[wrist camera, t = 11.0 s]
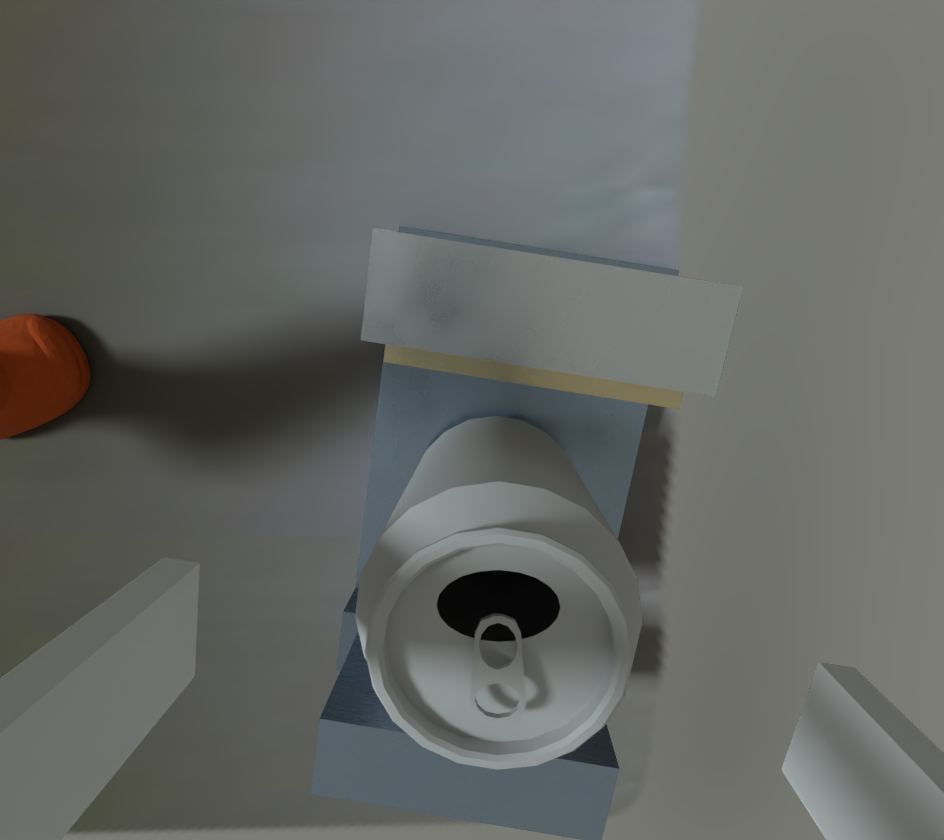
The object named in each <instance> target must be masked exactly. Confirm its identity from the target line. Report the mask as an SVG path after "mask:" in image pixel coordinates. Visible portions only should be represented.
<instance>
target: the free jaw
mask: <svg viewBox="0 0 944 840" xmlns="http://www.w3.org/2000/svg"><path fill="white" fill-rule="evenodd" d="M742 291H743V286H737V285H730V284H724V283H718V282H711V281H705V280H699V279H692V278H686V277H680V276H673V275H667V274H661V273H654V272H648V271H642V270H635V269H629V268H623V267H616V266H610V265H604V264H597V263H591V262H584V261H578V260H572V259H565V258H559V257H553V256H546V255H540V254H534V253H527V252H521V251H515V250H508V249H502V248H496V247H489V246H483V245H477V244H470V243H464V242H457V241H451V240H445V239H438V238H432V237H426V236H419V235H413V234H407V233H400V232H394V231H388V230H381V229H375V228H373V234H372V243H371V252H370V261H369V270H368V279H367V287H366V296H365V305H364V314H363V323H362V332H361V340H362V341H369V342H375V343H381V344H385V352H384V361H383V362H387V363H393V364H399V365H405V366H412V367H418V368H424V369H430V370H436V371H443V372H449V373H455V374H461V375H468V376H474V377H480V378H486V379H493V380H499V381H505V382H511V383H518V384H524V385H530V386H536V387H543V388H549V389H555V390H561V391H568V392H574V393H580V394H586V395H593V396H599V397H605V398H611V399H618V400H624V401H630V402H636V403H643V404H649V405H655V406H661V407H668V408H674V409H680V405H681V400H682V396H683V392H688V393H694V394H700V395H707V396H713V397H716V393H717V390H718V386H719V382H720V378H721V374H722V370H723V366H724V362H725V358H726V354H727V350H728V346H729V342H730V338H731V334H732V330H733V326H734V322H735V318H736V314H737V310H738V306H739V302H740V298H741V294H742Z"/></svg>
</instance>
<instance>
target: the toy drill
mask: <svg viewBox="0 0 944 840" xmlns="http://www.w3.org/2000/svg"><path fill="white" fill-rule="evenodd" d="M90 379H91V375H90V367H89V363H88V360H87V357H86V355H85V353H84V351H83V349H82V347H81V345H80V344H79V342H78V341H77V339H76V338H75V337H74V335H73V334H72V333H71V332H70V331H69V330H68V329H67V328H66V327H64V326H63V325H61V324H60V323H58V322H57V321H55V320H52V319H50V318H47V317H44V316H41V315H37V314H22V315H17V316H13V317H9V318H6V319H3V320H1V321H0V439H4V438H8V437H11V436H14V435H16V434H19V433H22V432H25V431H28V430H31V429H33V428H36V427H39V426H41V425H43V424H45V423H47V422H49V421H51V420H53V419H55V418H57V417H59V416H60V415H62V414H64V413H65V412H67V411H68V410H70V409H71V408H72V407H74V406H75V405H76V404H77V403H78V402H79V401H80V400H81V399H82V398H83V396H84V395H85V393H86V391H87V390H88V388H89V383H90Z"/></svg>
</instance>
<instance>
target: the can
mask: <svg viewBox="0 0 944 840" xmlns="http://www.w3.org/2000/svg"><path fill="white" fill-rule="evenodd" d="M355 618H356V623H357V627H358V632H359V636H360V641H361V645H362V650H363V654H364V657H365V659H366V660H367V664H368V668H369V673H370V677H371V682H372V686H373V689H374V691H375V693H376V694H377V696H378V698H379V699H380V701H381V702H382V704H383V706H384V707H385V709H386V711H387V712H388V714H389V716H390V717H391V719H392V721H393V722H395V723H396V724H397V725H398V726H399V727H400V728H401V729H403V730H404V731H405V732H406V733H407V734H408V735H409V736H410V737H412V738H413V739H414V740H415V741H416V742H417V743H418V744H420V745H421V746H422V747H424V748H426V749H428V750H431V751H433V752H435V753H437V754H439V755H441V756H443V757H446V758H448V759H450V760H452V761H454V762H456V763H460V764H466V765H472V766H478V767H484V768H490V769H496V770H499V769H509V768H519V767H528V766H537V765H540V764H542V763H545V762H547V761H550V760H552V759H555V758H557V757H560V756H562V755H565V754H567V753H570V752H572V751H574V750H576V749H577V748H578V747H579V746H581V745H582V744H583V743H584V742H586V741H587V740H588V739H589V738H591V737H592V736H593V735H594V734H596V733H597V732H598V731H599V730H601V729H602V728H603V727H604V726H605V725H606V723H607V722H608V720H609V719H610V717H611V715H612V714H613V712H614V711H615V709H616V708H617V706H618V705H619V703H620V702H621V700H622V699H623V697H624V696H625V693H626V689H627V685H628V681H629V677H630V672H631V668H632V664H633V660H634V656H635V652H636V647H637V643H638V639H639V635H640V631H641V627H642V623H643V621H642V611H641V602H640V593H639V584H638V579H637V577H636V575H635V573H634V571H633V569H632V567H631V565H630V563H629V561H628V559H627V557H626V555H625V553H624V551H623V549H622V547H621V544H620V542H619V541H618V539H617V537H616V536H615V534H614V532H613V531H612V529H611V527H610V526H609V524H608V522H607V521H606V519H605V517H604V516H603V514H602V512H601V511H600V509H599V507H598V506H597V504H596V502H595V501H594V499H593V498H592V496H591V494H590V493H589V491H588V489H587V488H586V486H585V484H584V483H583V481H582V479H581V478H580V476H579V474H578V473H577V471H576V469H575V468H574V466H573V464H572V463H571V461H570V459H569V458H568V456H567V454H566V453H565V451H564V450H563V449H562V448H561V447H560V446H559V445H558V444H557V443H556V442H555V441H554V440H553V439H552V438H551V437H550V436H549V435H548V434H547V433H546V432H544V431H542V430H541V429H539V428H537V427H535V426H533V425H531V424H529V423H527V422H525V421H523V420H519V419H512V418H506V417H500V416H490V417H484V418H477V419H470V420H467V421H465V422H463V423H461V424H459V425H457V426H455V427H453V428H451V429H449V430H447V431H445V432H444V433H443V434H442V435H441V436H440V437H439V438H438V439H437V440H436V441H435V442H434V443H433V444H432V445H431V446H430V447H429V448H428V449H427V450H426V452H425V453H424V455H423V457H422V459H421V461H420V463H419V465H418V467H417V468H416V470H415V472H414V474H413V476H412V478H411V480H410V481H409V483H408V485H407V487H406V489H405V491H404V493H403V494H402V496H401V498H400V500H399V502H398V504H397V506H396V508H395V509H394V511H393V513H392V515H391V517H390V519H389V521H388V522H387V524H386V526H385V528H384V530H383V532H382V534H381V535H380V537H379V539H378V541H377V543H376V545H375V547H374V549H373V551H372V553H371V555H370V557H369V559H368V561H367V563H366V565H365V567H364V569H363V571H362V573H361V575H360V581H359V589H358V597H357V605H356V613H355Z"/></svg>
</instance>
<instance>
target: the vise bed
mask: <svg viewBox="0 0 944 840" xmlns="http://www.w3.org/2000/svg"><path fill="white" fill-rule="evenodd" d="M399 232H400V233H407V234H413V235H419V236H426V237H432V238H438V239H445V240H451V241H457V242H464V243H470V244H477V245H483V246H489V247H496V248H502V249H508V250H515V251H521V252H527V253H534V254H540V255H546V256H553V257H559V258H565V259H572V260H578V261H584V262H591V263H597V264H604V265H610V266H616V267H623V268H629V269H635V270H642V271H648V272H654V273H661V274H667V275H673V276H678V271H679V270H673V269H667V268H661V267H654V266H648V265H642V264H635V263H629V262H623V261H616V260H610V259H604V258H597V257H591V256H584V255H578V254H572V253H565V252H559V251H553V250H546V249H540V248H534V247H527V246H521V245H515V244H508V243H502V242H495V241H489V240H483V239H476V238H470V237H464V236H457V235H451V234H445V233H438V232H432V231H426V230H419V229H413V228H407V227H400V226H399ZM384 352H385V349H384ZM383 361H384V358H383ZM647 409H648V404H643V403H636V402H630V401H624V400H618V399H611V398H605V397H599V396H593V395H586V394H580V393H574V392H568V391H561V390H555V389H549V388H543V387H536V386H530V385H524V384H518V383H511V382H505V381H499V380H493V379H486V378H480V377H474V376H468V375H461V374H455V373H449V372H443V371H436V370H430V369H424V368H418V367H412V366H405V365H399V364H393V363H387V362H383V366H382V374H381V382H380V390H379V399H378V407H377V415H376V423H375V432H374V440H373V448H372V456H371V464H370V473H369V481H368V489H367V497H366V505H365V514H364V522H363V530H362V538H361V547H360V555H359V563H358V571H357V579H356V588H355V590H354V592H353V594H352V596H351V598H350V600H349V602H348V604H347V605H346V607H345V609H344V611H343V619H342V627H341V636H340V644H339V653H338V661H337V670H341V671H340V674H339V676H338V678H337V680H336V683H335V685H334V687H333V689H332V692H331V694H330V696H329V699H328V701H327V703H326V705H325V708H324V710H323V712H322V714H321V717H320V720H319V729H318V737H317V746H316V755H315V764H314V773H313V782H312V791H311V794H314V795H320V796H326V797H332V798H338V799H344V800H350V801H356V802H362V803H368V804H373V805H379V806H385V807H391V808H397V809H403V810H409V811H415V812H421V813H427V814H433V815H439V816H445V817H451V818H457V819H462V820H468V821H474V822H480V823H486V824H492V825H498V826H504V827H510V828H516V829H522V830H528V831H534V832H540V833H546V834H551V835H558V836H563V837H570V838H576V839H581V840H602V836H603V832H604V828H605V824H606V820H607V816H608V812H609V808H610V804H611V800H612V796H613V792H614V788H615V784H616V780H617V776H618V772H619V766H618V762H617V759H616V756H615V752H614V749H613V745H612V742H611V738H610V735H609V731H608V728H607V725H605V726H604V727H603V728H602V729H601V730H599V731H598V732H597V733H596V734H594V735H593V736H592V737H591V738H589V739H588V740H587V741H586V742H584V743H583V744H582V745H581V746H579V747H578V748H577V749H576V750H574V751H572V752H570V753H567V754H565V755H562V756H560V757H557V758H555V759H552V760H550V761H547V762H545V763H542V764H540V765H537V766H528V767H519V768H509V769H499V770H496V769H490V768H484V767H478V766H472V765H466V764H460V763H456V762H454V761H452V760H450V759H448V758H446V757H443V756H441V755H439V754H437V753H435V752H433V751H431V750H428V749H426V748H424V747H422V746H421V745H420V744H418V743H417V742H416V741H415V740H414V739H413V738H412V737H410V736H409V735H408V734H407V733H406V732H405V731H404V730H403V729H401V728H400V727H399V726H398V725H397V724H396V723H395V722H393V721H392V719H391V717H390V716H389V714H388V712H387V711H386V709H385V707H384V706H383V704H382V702H381V701H380V699H379V698H378V696H377V694H376V693H375V691H374V689H373V686H372V682H371V677H370V673H369V668H368V664H367V660H366V659H365V657H364V654H363V650H362V645H361V641H360V636H359V632H358V627H357V623H356V618H355V613H356V605H357V597H358V589H359V581H360V575H361V573H362V571H363V569H364V567H365V565H366V563H367V561H368V559H369V557H370V555H371V553H372V551H373V549H374V547H375V545H376V543H377V541H378V539H379V537H380V535H381V534H382V532H383V530H384V528H385V526H386V524H387V522H388V521H389V519H390V517H391V515H392V513H393V511H394V509H395V508H396V506H397V504H398V502H399V500H400V498H401V496H402V494H403V493H404V491H405V489H406V487H407V485H408V483H409V481H410V480H411V478H412V476H413V474H414V472H415V470H416V468H417V467H418V465H419V463H420V461H421V459H422V457H423V455H424V453H425V452H426V450H427V449H428V448H429V447H430V446H431V445H432V444H433V443H434V442H435V441H436V440H437V439H438V438H439V437H440V436H441V435H442V434H443V433H444V432H445V431H447V430H449V429H451V428H453V427H455V426H457V425H459V424H461V423H463V422H465V421H467V420H470V419H477V418H484V417H490V416H500V417H506V418H512V419H519V420H523V421H525V422H527V423H529V424H531V425H533V426H535V427H537V428H539V429H541V430H542V431H544V432H546V433H547V434H548V435H549V436H550V437H551V438H552V439H553V440H554V441H555V442H556V443H557V444H558V445H559V446H560V447H561V448H562V449H563V450H564V451H565V453H566V454H567V456H568V458H569V459H570V461H571V463H572V464H573V466H574V468H575V469H576V471H577V473H578V474H579V476H580V478H581V479H582V481H583V483H584V484H585V486H586V488H587V489H588V491H589V493H590V494H591V496H592V498H593V499H594V501H595V502H596V504H597V506H598V507H599V509H600V511H601V512H602V514H603V516H604V517H605V519H606V521H607V522H608V524H609V526H610V527H611V529H612V531H613V532H614V534H615V536H616V537H617V539H618V537H619V532H620V528H621V523H622V519H623V515H624V510H625V506H626V501H627V497H628V493H629V488H630V484H631V479H632V475H633V470H634V466H635V462H636V457H637V453H638V448H639V444H640V439H641V435H642V431H643V426H644V422H645V417H646V413H647Z"/></svg>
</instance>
